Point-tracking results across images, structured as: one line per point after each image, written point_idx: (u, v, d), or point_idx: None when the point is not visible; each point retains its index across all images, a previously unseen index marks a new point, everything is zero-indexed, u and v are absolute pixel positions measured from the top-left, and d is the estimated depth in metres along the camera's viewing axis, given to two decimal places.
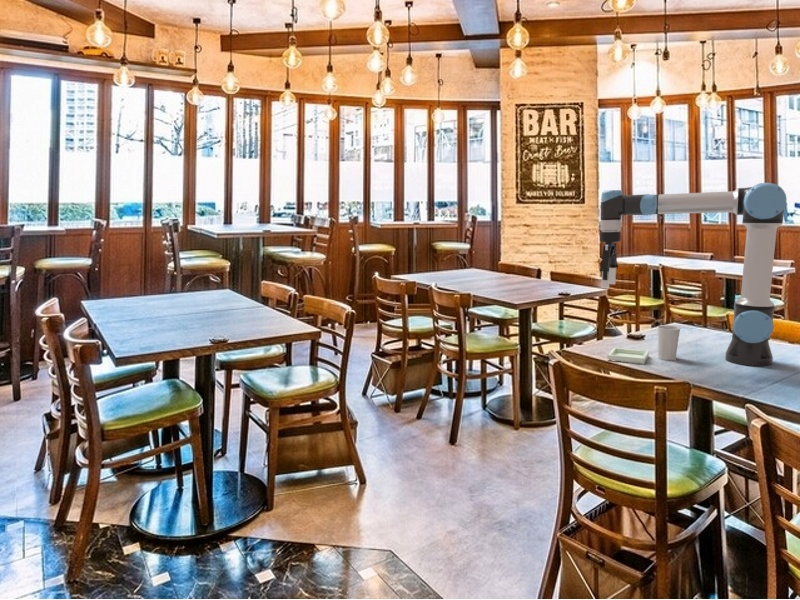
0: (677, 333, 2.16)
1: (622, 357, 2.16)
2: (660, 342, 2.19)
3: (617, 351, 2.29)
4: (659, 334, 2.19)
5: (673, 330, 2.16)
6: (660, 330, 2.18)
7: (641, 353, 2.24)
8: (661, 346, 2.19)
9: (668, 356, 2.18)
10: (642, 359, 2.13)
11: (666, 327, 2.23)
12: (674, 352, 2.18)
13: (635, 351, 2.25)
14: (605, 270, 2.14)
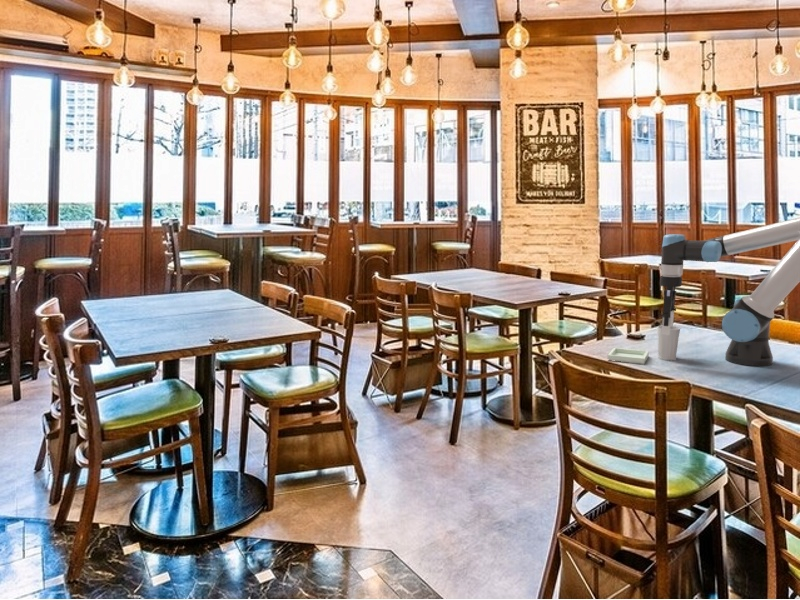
0: (677, 333, 2.16)
1: (622, 357, 2.16)
2: (660, 342, 2.19)
3: (617, 351, 2.29)
4: (659, 334, 2.19)
5: (673, 330, 2.16)
6: (660, 330, 2.18)
7: (641, 353, 2.24)
8: (661, 346, 2.19)
9: (668, 356, 2.18)
10: (642, 359, 2.13)
11: None
12: (674, 352, 2.18)
13: (635, 351, 2.25)
14: (667, 316, 2.11)
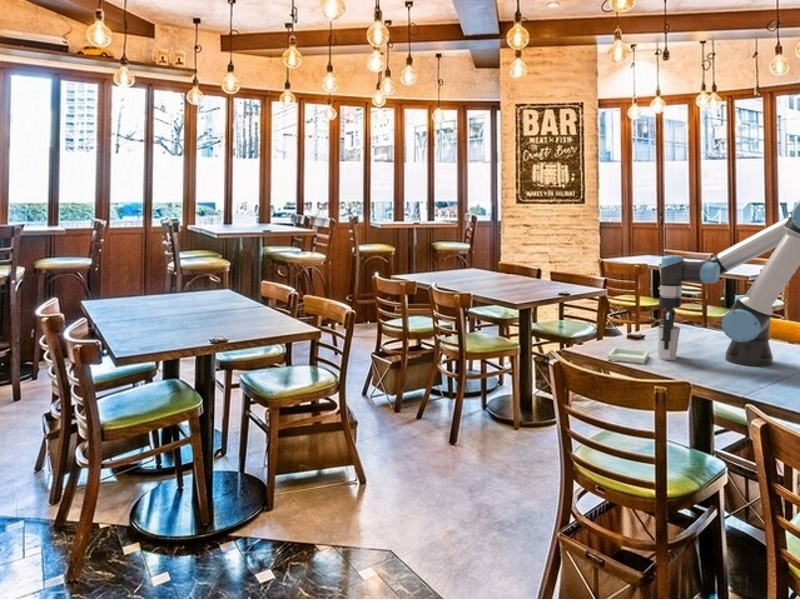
0: (677, 333, 2.16)
1: (622, 357, 2.16)
2: (660, 342, 2.19)
3: (617, 351, 2.29)
4: (659, 334, 2.19)
5: (673, 330, 2.16)
6: (660, 330, 2.18)
7: (641, 353, 2.24)
8: (661, 346, 2.19)
9: None
10: (642, 359, 2.13)
11: None
12: (674, 352, 2.18)
13: (635, 351, 2.25)
14: (667, 340, 2.14)
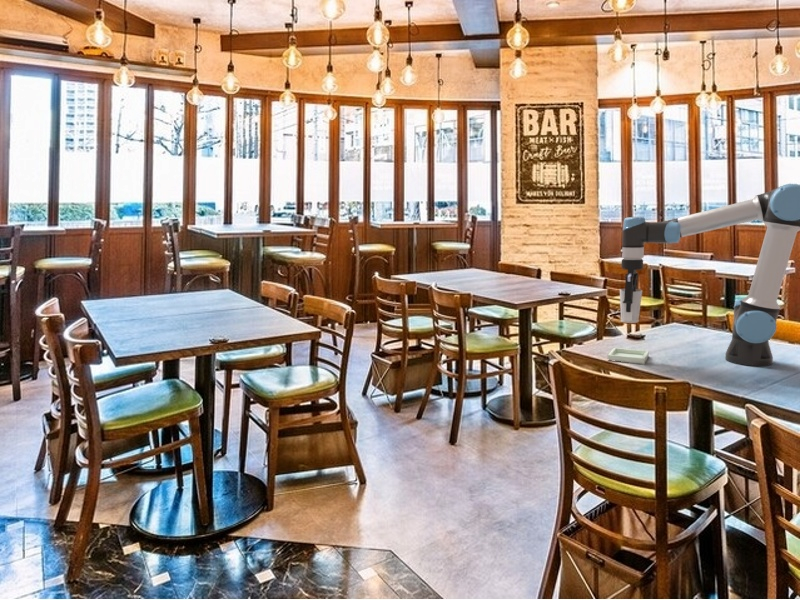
0: (639, 295, 2.15)
1: (622, 357, 2.16)
2: (622, 305, 2.17)
3: (617, 351, 2.29)
4: (621, 297, 2.17)
5: (635, 292, 2.14)
6: (622, 293, 2.16)
7: (641, 353, 2.24)
8: (623, 309, 2.17)
9: None
10: (642, 359, 2.13)
11: None
12: (636, 315, 2.16)
13: (635, 351, 2.25)
14: (628, 302, 2.12)
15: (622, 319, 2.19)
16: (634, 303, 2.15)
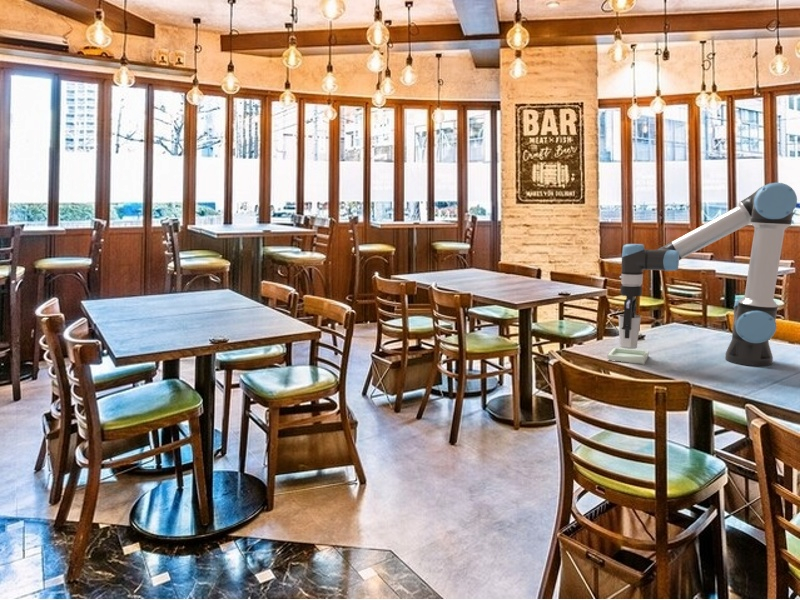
0: (638, 322, 2.16)
1: (622, 357, 2.16)
2: (621, 331, 2.19)
3: (617, 351, 2.29)
4: (620, 323, 2.19)
5: (633, 318, 2.15)
6: (621, 319, 2.18)
7: (641, 353, 2.24)
8: (622, 335, 2.19)
9: None
10: (642, 359, 2.13)
11: None
12: (635, 341, 2.18)
13: (635, 351, 2.25)
14: (627, 329, 2.14)
15: (621, 345, 2.20)
16: (633, 329, 2.16)
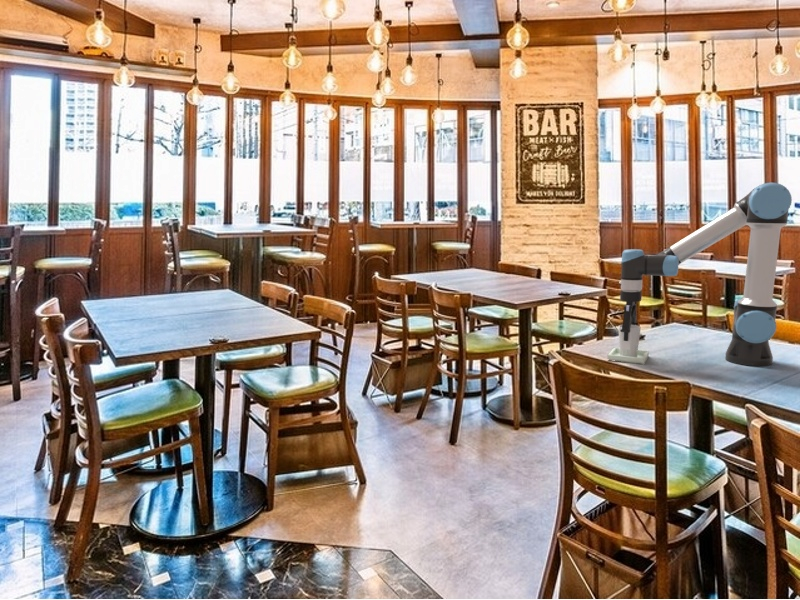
0: (637, 332, 2.17)
1: (622, 357, 2.16)
2: (621, 341, 2.19)
3: (617, 351, 2.29)
4: (620, 333, 2.19)
5: (633, 329, 2.16)
6: (621, 329, 2.18)
7: (641, 353, 2.24)
8: None
9: (629, 355, 2.18)
10: (642, 359, 2.13)
11: None
12: (635, 351, 2.18)
13: None
14: (626, 331, 2.12)
15: (621, 355, 2.21)
16: (633, 340, 2.17)
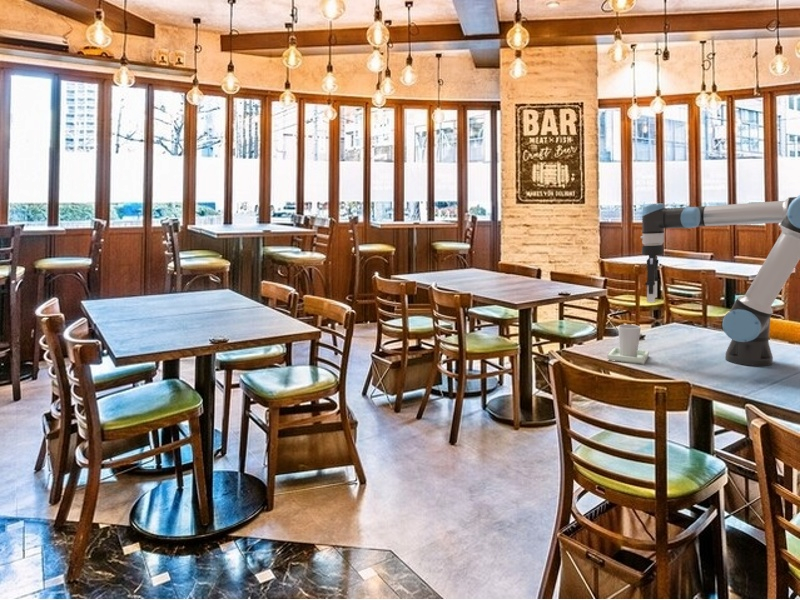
0: (637, 332, 2.17)
1: (622, 357, 2.16)
2: (621, 341, 2.19)
3: (617, 351, 2.29)
4: (620, 333, 2.19)
5: (633, 329, 2.16)
6: (621, 329, 2.18)
7: (641, 353, 2.24)
8: (622, 345, 2.19)
9: (629, 355, 2.18)
10: (642, 359, 2.13)
11: (627, 326, 2.23)
12: (635, 351, 2.18)
13: None
14: (651, 284, 2.13)
15: (621, 355, 2.21)
16: (633, 340, 2.17)
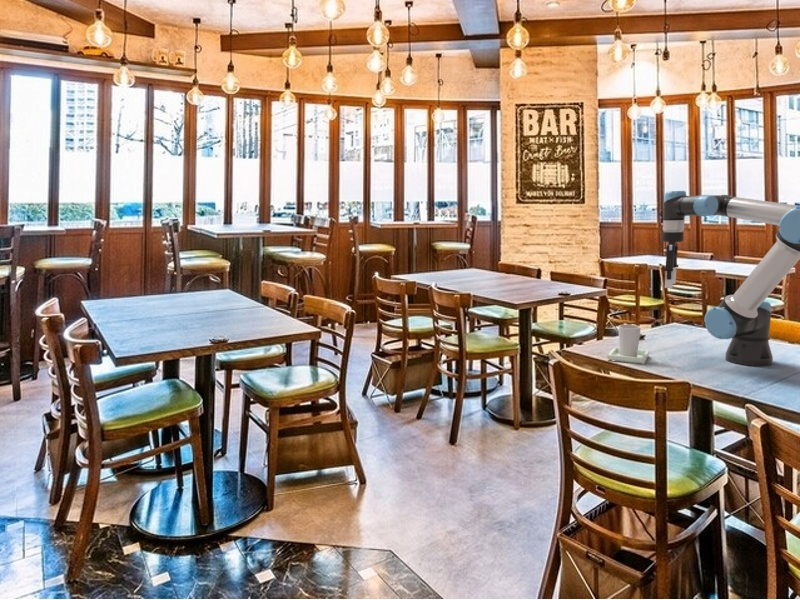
0: (637, 332, 2.17)
1: (622, 357, 2.16)
2: (621, 341, 2.19)
3: (617, 351, 2.29)
4: (620, 333, 2.19)
5: (633, 329, 2.16)
6: (621, 329, 2.18)
7: (641, 353, 2.24)
8: (622, 345, 2.19)
9: (629, 355, 2.18)
10: (642, 359, 2.13)
11: (627, 326, 2.23)
12: (635, 351, 2.18)
13: None
14: (669, 270, 2.17)
15: (621, 355, 2.21)
16: (633, 340, 2.17)
